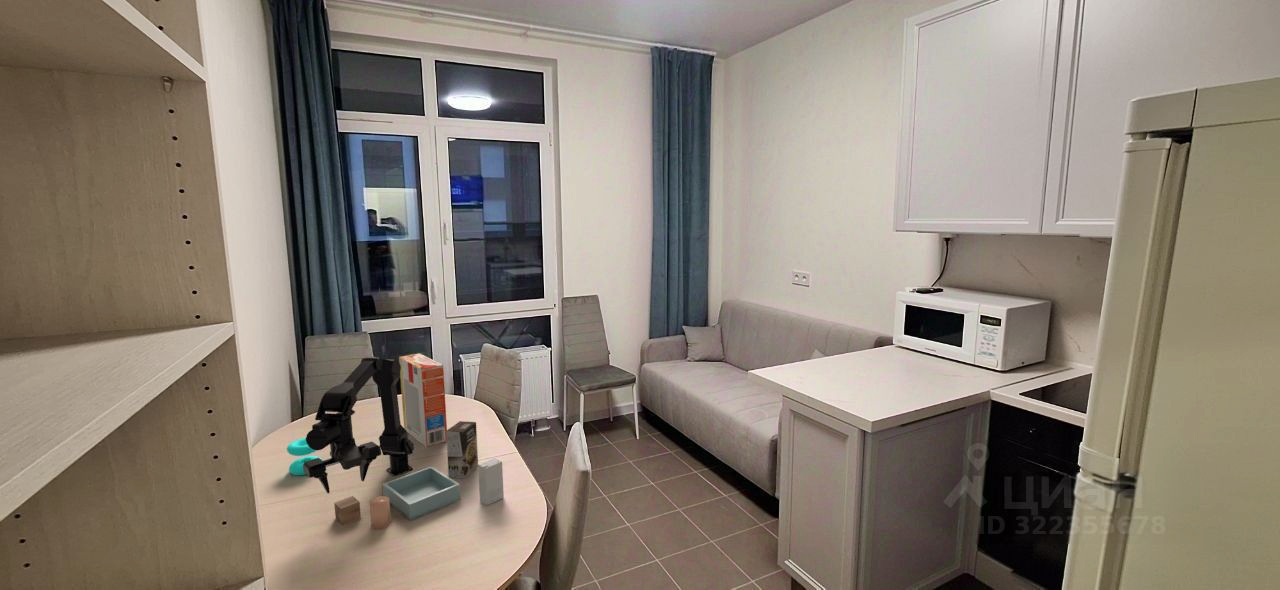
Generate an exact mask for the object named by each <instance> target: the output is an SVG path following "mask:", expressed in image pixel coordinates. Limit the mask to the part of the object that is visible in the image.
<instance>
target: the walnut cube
mask: <svg viewBox="0 0 1280 590" xmlns="http://www.w3.org/2000/svg"><path fill="white" fill-rule="evenodd" d="M333 503H334V504H333V505H334V514H335V515H334V516H335V520H336V521H337V522H338V523H339V524H341V526H344V525H346V524H349V523H351V522H354V521H357V520H359V519H361V518H362V515H361V513H362V512H361V502H360V500H358V499H357V498H356V497H355V496H354V495H352V496H351V495H350V496H349V497H346V498H343V499H341V500H340V499H339V500H338V501H335V502H333Z"/></svg>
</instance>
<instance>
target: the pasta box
mask: <svg viewBox="0 0 1280 590" xmlns="http://www.w3.org/2000/svg"><path fill="white" fill-rule="evenodd" d="M398 359H399V363H400V365H401V370H400V377H399V378H400V389H401V390H400V391H401V402H402V403H401V404H402V417H403V428H404V429H405V430H406V431H407V434H409V435H411V436H412V437H413V438H414V439H416V440H417V441H418V442H419V443H421V444H422V445H423V446H425V447H426V448H428V447H431V446H434V445H439V444H442V443H445V442H446V443H447V436H446V431H447V430H448V428H447V427H448V425H447V407H446V396H445V395H446V392H445V391H446V389H445V375H444V373H445V372H444V364H442V363H440V362H438V361H436V360H434V359H432V358H429V357H428V356H426V355H423V354H422V353H419V352H418V353H416V354H415V353H414V354H409V355H403V356H398Z"/></svg>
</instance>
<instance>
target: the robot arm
mask: <svg viewBox="0 0 1280 590" xmlns="http://www.w3.org/2000/svg"><path fill="white" fill-rule="evenodd" d="M400 370H401V365H400V363H399V361H398V360H397V359H386V358H382V357H378V356H365V357H363V358H361V361H360V363H359V364H358V366H357V367H356V368H355V369H354V370H353V371H352V372H351V373H350V374H349V375H348V376H347V377H346V379H345V380H343V382H342V383H340V384H338V385H335V386H333V387H331V388H329V389H328V390H327V391H326V392H325V393H324V394H323V395H322V397H321V400H320V403H319V405H318V408H317V412H316V415H315V418H314V421H318V422H316V423H314V424H311V425H312V426H311V430H309V431H308V432H307V434H306V437H305V438H306V443H307V445H308V446H309V447H310V448H311V449H313V450H317V451H322V450H324V449H325V448H326V447H328V446H329V447H330V451H329V456H331V458H327V459H325V460H324V459H322V458H321V457H320V458H321V459H322V460H323V461H322V460H321V459H320V458H316V459H312V460H309V461H306V462H305V463H304V464H303V471H304V472H305V473H306V475H307V476H308V477H309V478H313V479H318V480H319V482H320V483H321V486H322V487H323V489H324V490H325V492H326V494H330V485H329V481H328V473H327V472H326V471H327V468H328V467H331V466H334V465H337V464H340V465H341V468H342V469H343V470H345V471H347V470H348V471H349V470H350V469H353V468H355V467H359V474H360V475H359V476H360V481H361V482H364V481H366V477H367V474H368V469H369V468H370V464H371V463H372V462H373V461H375V460H376V459H377V458H378V457H379V456H381V455H383V456H389V467H387V468H386V472H388V473H390V474H391V475H392V476H394V477H396V476H399V475H401V474H404V473H407V472H410V471H412V470H414V467H413V466H411V465H410V464H409V456H410V455H412V454H413V453H414V450H415V443H414V442H413V441H411V439H409V434H408V432H407V431H406V430H405V429H404V426H403V425H402V424H401V416H400V407H399V399H398V398H399V397H398V390H397V383H398V381H399V379H400V378H401V377H400ZM371 378H372V381H373V382H374V383H375V384H376V386H377V387H378V388H379V395H380V401H381V409H382V410H381V411H382V418H383V420H382V421H383V427H384V430H382V433H381V435H379V437H378V441H379V445H377V443H375V442H373V441H368V442H365V443H362V444H360V445H357V444H356V440H355V438H354V435H353V425H352V423H353V422H352V420H353V419H352V416H353V415H354V414H355V413H356V411H355V410H354V409H353V407H354V406H355V405H356V403H357V401H358V397H357V395H358V394H359V392H360V391H361V390H362V388H363V387H364V386H365V385H366V384H367V382H368V381H369V380H371Z"/></svg>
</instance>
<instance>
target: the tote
mask: <svg viewBox="0 0 1280 590" xmlns="http://www.w3.org/2000/svg"><path fill="white" fill-rule="evenodd" d="M382 492H383V493H382V494H383V496H386V497H388V498H389V504H390V507H393V508H394V509H395V510H396V511H397V512H399V513H400V514H401V515H403V516H404V517H405V518H406V519H407V520H409V522H412V521H414V520H416V519H417V520H418V517H419V518H422V517H424V516H426V515H428V514H430V512H431V513H433V512H435V511H437V510H440V509H442V508H444V507H445V508H446V507H447V506H449V505H452V504H454V503H456V502H459V501H461V500H462V495H461V484H460V483H459V482H457V481H455V480H454V479H452V477H449V476H448V475H446V474H445V473H443V472H441V471H440V470H439V469H436V468H435V467H434V466H429V467H425V468H423V469H421V470H418V471H415V472H412V473H409V474H407V475H404V476H401V477H398V478H395V479H392V480H390V481H388V482H384V483H382ZM423 515H424V516H423Z"/></svg>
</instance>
